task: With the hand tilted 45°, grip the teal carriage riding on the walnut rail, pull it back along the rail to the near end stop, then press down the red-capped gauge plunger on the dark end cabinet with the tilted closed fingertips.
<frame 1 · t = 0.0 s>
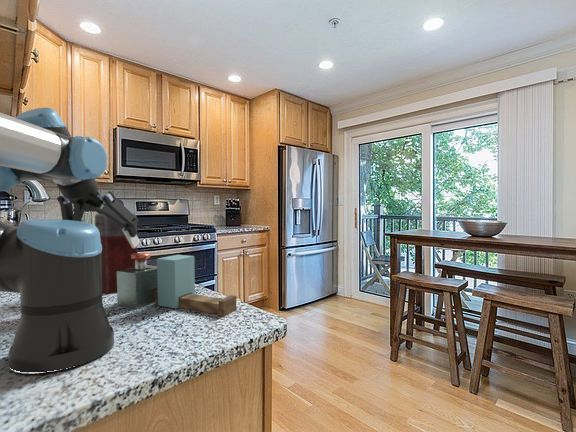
hand: (113, 244, 86), 15 cm above the counter, tool tilted 35°, fingers open, 13 cm apart
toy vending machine: (116, 288, 99), on the counter
carriage: (176, 280, 83), point 6 cm above the counter, slide at 0.0 cm
rail: (194, 306, 80), on the counter
end cabinet: (141, 302, 84), on the counter
gauge plunger: (140, 266, 84), point 10 cm above the counter, slide at 0.0 cm
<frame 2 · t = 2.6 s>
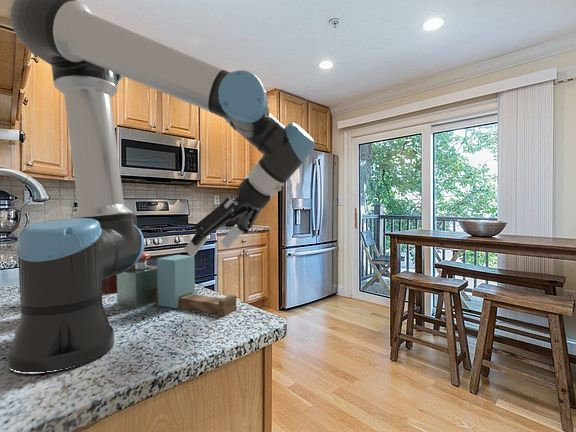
hand: (207, 248, 78), 15 cm above the counter, tool tilted 45°, fingers open, 13 cm apart
nothing on the counter moved.
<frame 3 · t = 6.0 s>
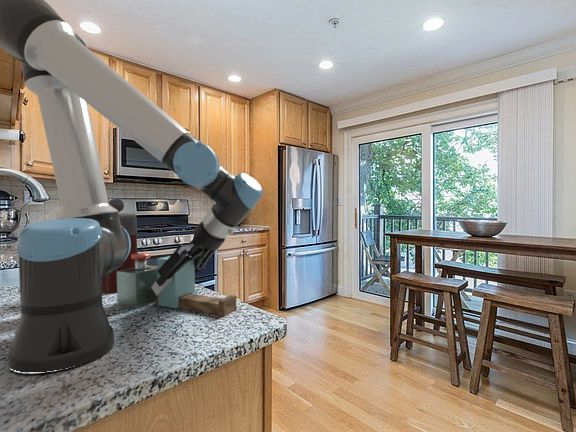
hand: (166, 287, 84), 4 cm above the counter, tool tilted 45°, fingers closed on carriage, 7 cm apart
carriage: (176, 280, 83), point 6 cm above the counter, slide at 0.0 cm, touching gripper
everything else where it was.
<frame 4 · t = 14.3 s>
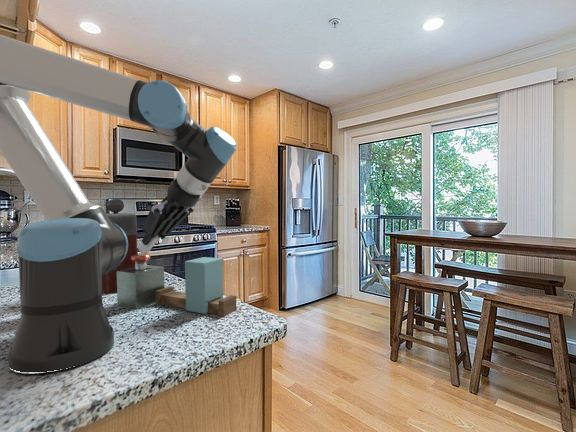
hand: (142, 250, 84), 14 cm above the counter, tool tilted 45°, fingers closed
carriage: (204, 284, 79), point 6 cm above the counter, slide at 9.3 cm
gauge plunger: (141, 267, 84), point 9 cm above the counter, slide at 0.4 cm, touching gripper
everything else where it was.
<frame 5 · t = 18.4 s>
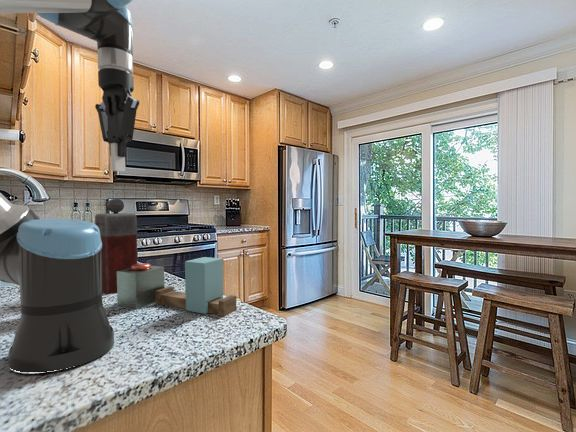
hand: (118, 170, 77), 34 cm above the counter, tool pointing down, fingers closed
gauge plunger: (141, 277, 84), point 7 cm above the counter, slide at 2.9 cm
everything else where it was.
at the end: carriage slide at 9.3 cm; gauge plunger slide at 2.9 cm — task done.
